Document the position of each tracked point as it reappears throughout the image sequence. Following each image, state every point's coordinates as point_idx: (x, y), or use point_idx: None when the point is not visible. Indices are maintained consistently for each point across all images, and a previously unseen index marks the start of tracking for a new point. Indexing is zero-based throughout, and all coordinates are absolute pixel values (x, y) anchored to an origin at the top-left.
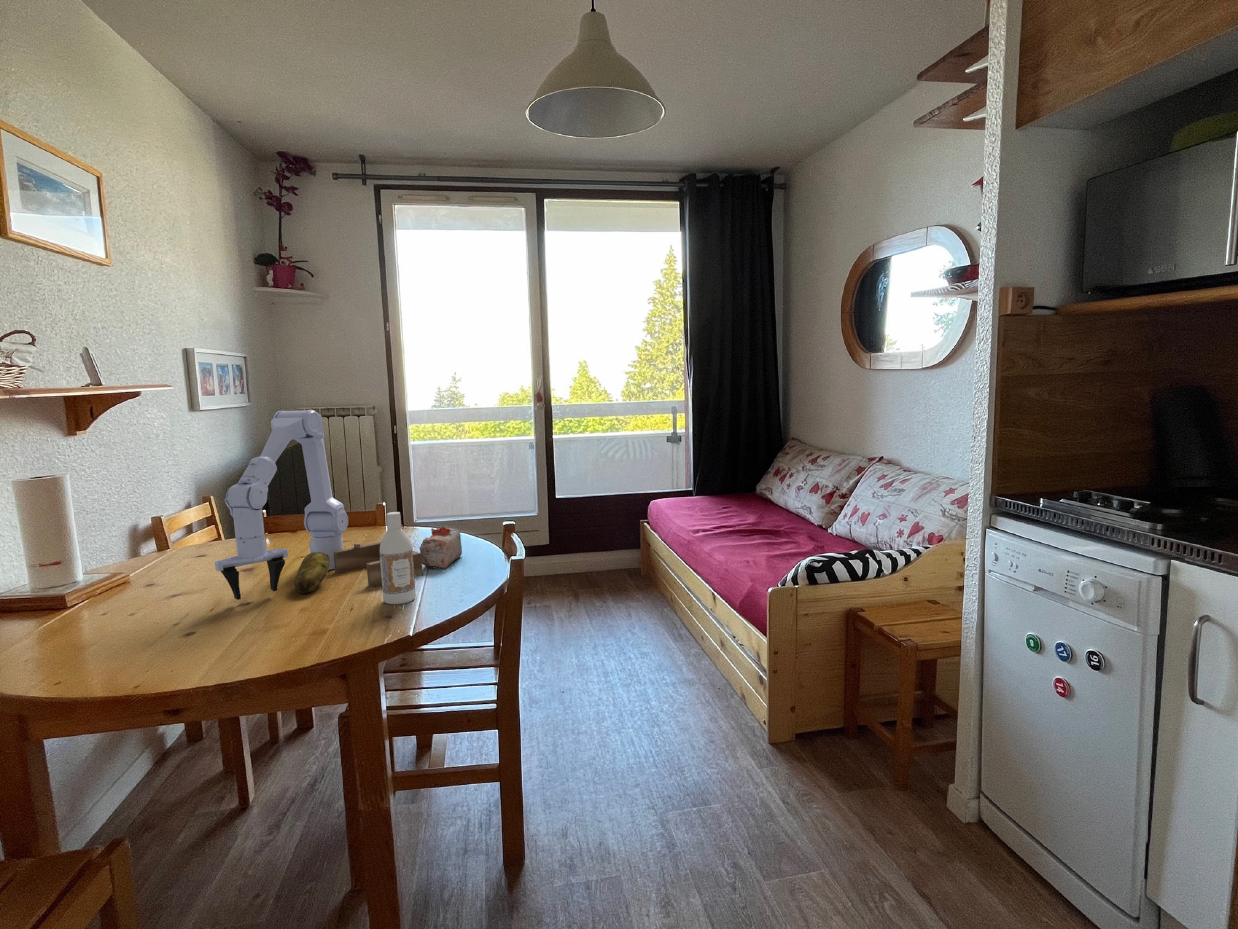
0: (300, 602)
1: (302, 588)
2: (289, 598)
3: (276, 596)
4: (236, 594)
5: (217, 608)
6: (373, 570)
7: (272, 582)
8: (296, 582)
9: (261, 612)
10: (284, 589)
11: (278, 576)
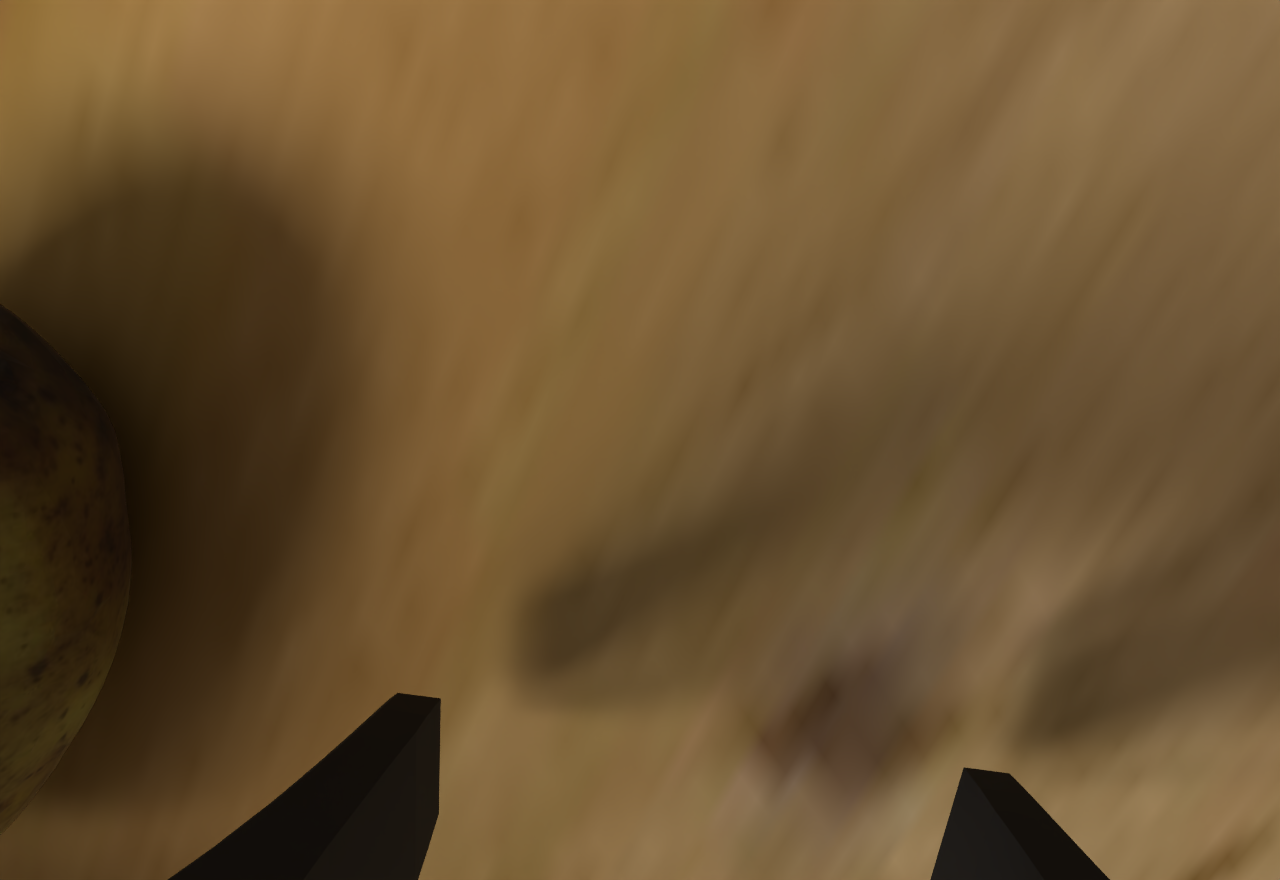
0: (272, 25)
1: (31, 364)
2: (329, 428)
3: (425, 681)
4: (1073, 843)
5: (1143, 863)
6: None
7: (381, 859)
8: (20, 572)
9: (956, 87)
10: None
11: (220, 858)
